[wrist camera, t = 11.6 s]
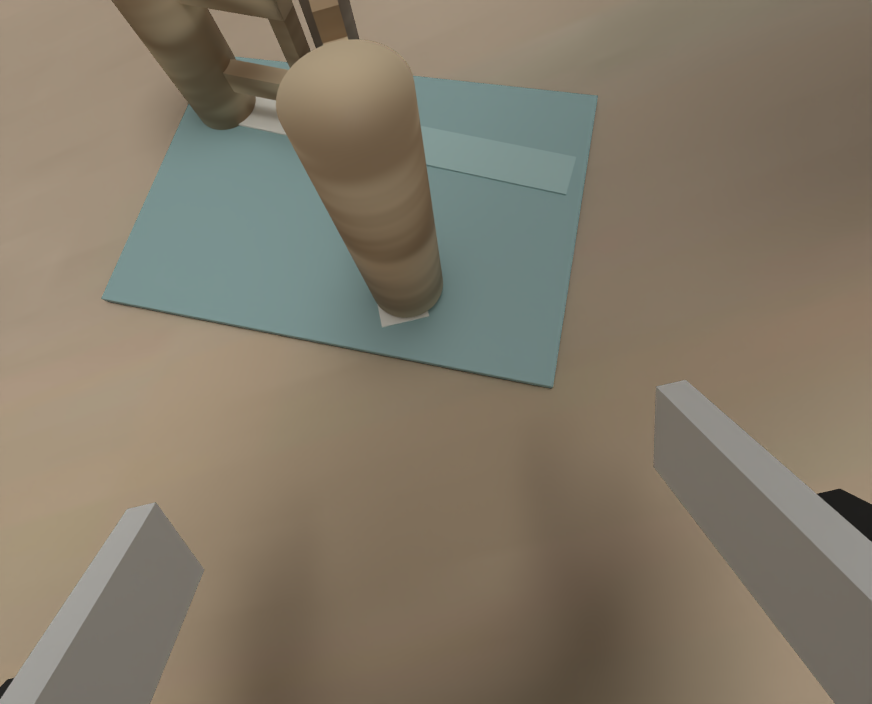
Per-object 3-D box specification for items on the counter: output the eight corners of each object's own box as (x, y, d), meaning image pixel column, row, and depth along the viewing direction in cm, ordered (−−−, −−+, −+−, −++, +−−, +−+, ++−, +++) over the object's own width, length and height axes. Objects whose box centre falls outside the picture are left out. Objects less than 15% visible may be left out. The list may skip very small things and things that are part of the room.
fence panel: (340, 165, 25) (234, -87, 14) (403, 148, 25) (348, -119, 14) (380, 326, 22) (288, 169, 11) (451, 306, 22) (430, 128, 11)
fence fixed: (393, 117, 26) (331, -167, 15) (372, 168, 25) (289, -93, 14) (217, 82, 28) (41, -194, 17) (193, 128, 27) (-12, -130, 16)
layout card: (596, 101, 25) (598, 94, 25) (551, 388, 21) (553, 386, 21) (214, 59, 29) (210, 52, 28) (107, 301, 24) (99, 297, 24)
